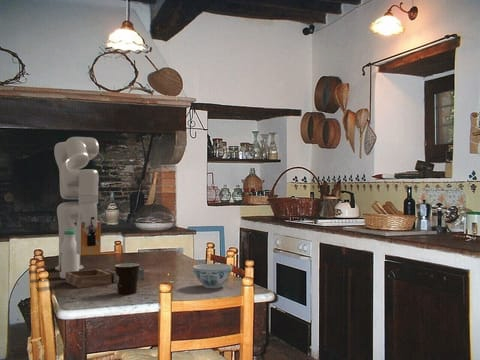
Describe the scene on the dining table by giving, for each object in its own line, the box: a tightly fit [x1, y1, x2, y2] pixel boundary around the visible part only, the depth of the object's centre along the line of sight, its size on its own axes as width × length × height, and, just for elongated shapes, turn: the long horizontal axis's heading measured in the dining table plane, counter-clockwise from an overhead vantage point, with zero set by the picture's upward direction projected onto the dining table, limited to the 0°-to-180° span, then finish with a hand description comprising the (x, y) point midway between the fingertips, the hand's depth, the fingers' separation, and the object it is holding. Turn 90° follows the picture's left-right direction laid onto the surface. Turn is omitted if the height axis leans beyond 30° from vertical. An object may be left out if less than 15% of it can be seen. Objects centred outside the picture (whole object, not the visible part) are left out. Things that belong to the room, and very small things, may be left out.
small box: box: [76, 220, 102, 256], centre depth 199 cm, size 8×6×13 cm
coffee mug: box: [114, 262, 140, 296], centre depth 177 cm, size 12×9×10 cm
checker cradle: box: [103, 267, 145, 283], centre depth 207 cm, size 11×13×4 cm
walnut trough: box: [65, 268, 112, 289], centre depth 198 cm, size 16×13×4 cm
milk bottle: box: [59, 230, 80, 280], centre depth 212 cm, size 8×8×20 cm
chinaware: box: [192, 263, 233, 289], centre depth 190 cm, size 15×15×8 cm
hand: (88, 244), depth 199 cm, fingers closed on small box, 6 cm apart
